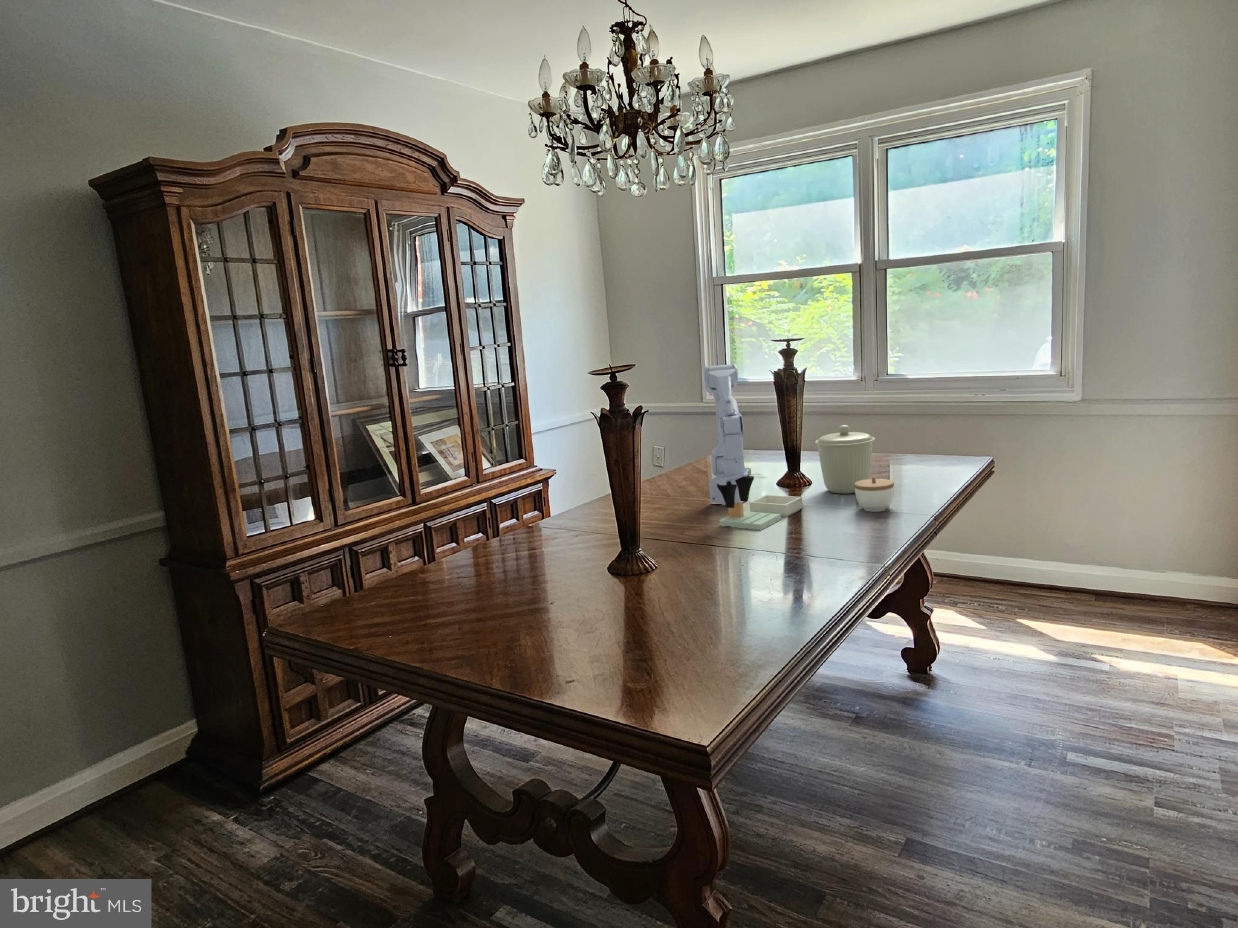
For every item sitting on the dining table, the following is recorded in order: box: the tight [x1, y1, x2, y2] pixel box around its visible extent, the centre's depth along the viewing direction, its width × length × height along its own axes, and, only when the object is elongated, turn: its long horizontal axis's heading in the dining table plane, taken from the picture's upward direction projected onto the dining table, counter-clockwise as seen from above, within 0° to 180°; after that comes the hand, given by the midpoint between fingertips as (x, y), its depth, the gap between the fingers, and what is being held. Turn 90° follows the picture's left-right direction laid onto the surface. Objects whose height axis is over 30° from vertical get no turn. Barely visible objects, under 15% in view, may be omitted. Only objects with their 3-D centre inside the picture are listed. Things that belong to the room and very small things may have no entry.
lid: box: [718, 502, 782, 530], centre depth 216 cm, size 13×11×6 cm
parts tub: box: [748, 494, 804, 518], centre depth 226 cm, size 12×10×4 cm
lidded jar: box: [854, 476, 895, 513], centre depth 217 cm, size 11×11×9 cm
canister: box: [814, 424, 876, 495], centre depth 242 cm, size 18×18×21 cm
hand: (737, 504), depth 218 cm, fingers open, 7 cm apart
